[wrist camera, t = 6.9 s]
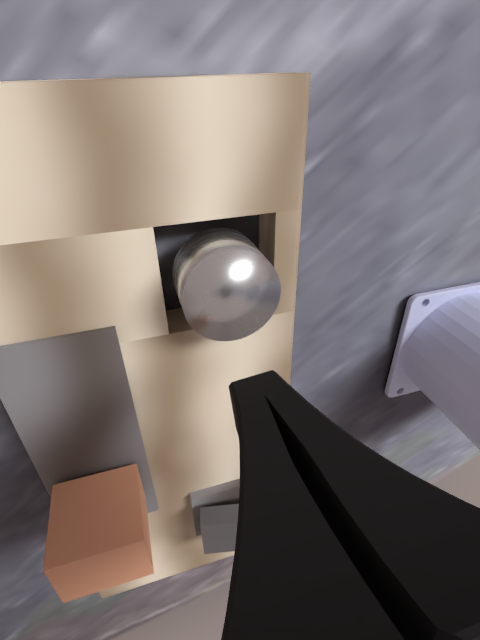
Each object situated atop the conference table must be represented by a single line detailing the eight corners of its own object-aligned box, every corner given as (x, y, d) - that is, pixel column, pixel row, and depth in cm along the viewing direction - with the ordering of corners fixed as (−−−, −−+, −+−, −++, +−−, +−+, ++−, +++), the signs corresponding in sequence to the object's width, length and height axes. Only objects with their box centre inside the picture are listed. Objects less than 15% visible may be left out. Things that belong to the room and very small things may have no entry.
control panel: (287, 72, 15) (317, 73, 13) (269, 515, 31) (281, 546, 29) (-117, 84, 12) (-162, 88, 10) (101, 568, 28) (102, 606, 26)
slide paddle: (136, 463, 20) (143, 540, 16) (145, 497, 21) (153, 573, 18) (52, 485, 19) (42, 570, 16) (68, 519, 20) (63, 603, 17)
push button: (259, 222, 16) (282, 244, 14) (259, 302, 18) (279, 331, 16) (166, 233, 15) (177, 259, 13) (177, 316, 17) (187, 349, 15)
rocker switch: (274, 500, 23) (277, 518, 22) (272, 529, 25) (275, 546, 24) (200, 507, 23) (200, 525, 22) (204, 536, 24) (204, 554, 24)
